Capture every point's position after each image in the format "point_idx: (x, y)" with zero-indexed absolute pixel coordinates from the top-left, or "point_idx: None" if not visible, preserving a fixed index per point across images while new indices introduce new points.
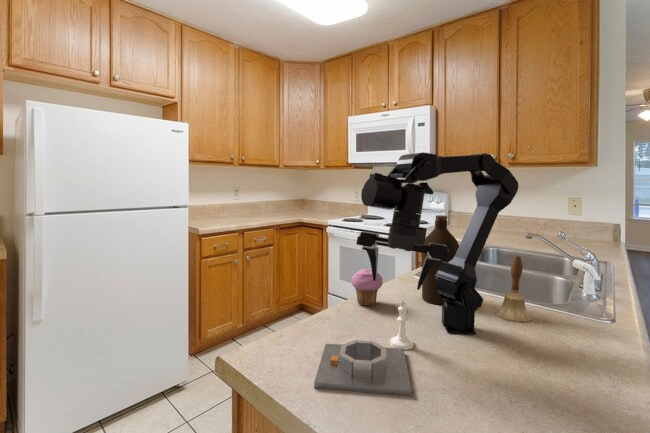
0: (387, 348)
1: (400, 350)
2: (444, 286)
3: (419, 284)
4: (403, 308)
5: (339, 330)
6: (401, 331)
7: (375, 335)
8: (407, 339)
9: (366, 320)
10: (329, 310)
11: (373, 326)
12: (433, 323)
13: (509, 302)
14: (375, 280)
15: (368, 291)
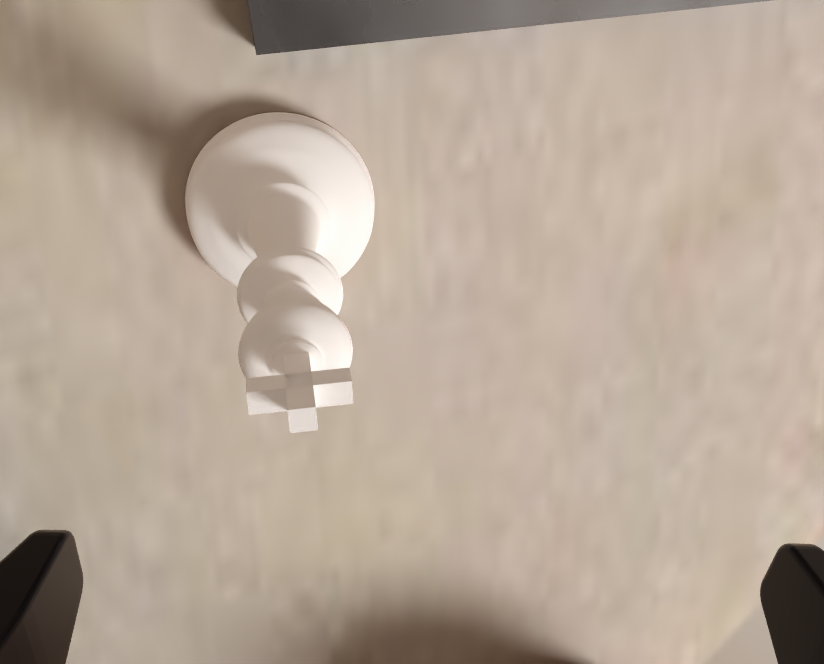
0: (394, 21)
1: (280, 11)
2: None
3: (3, 598)
4: (286, 334)
5: (746, 297)
6: (291, 224)
7: (489, 294)
8: (236, 220)
9: (556, 494)
10: None
11: (506, 424)
12: None
13: None
14: (776, 560)
15: None
